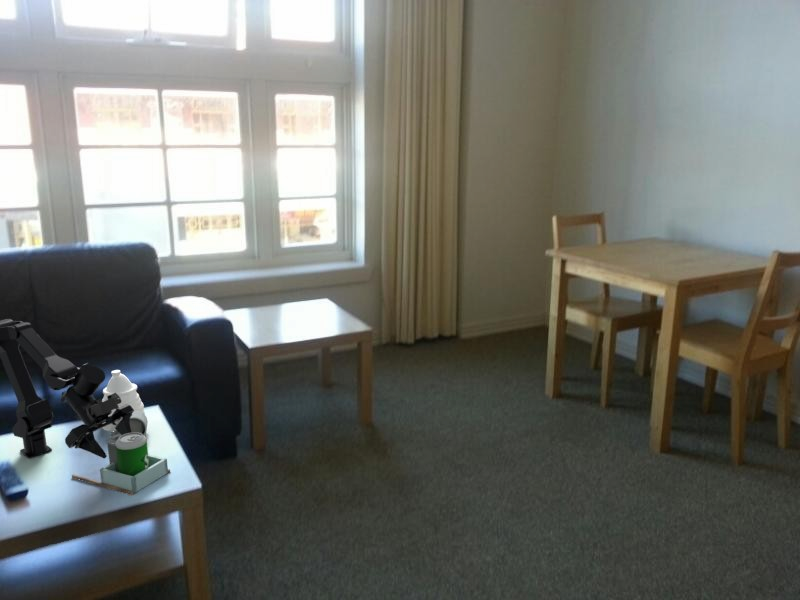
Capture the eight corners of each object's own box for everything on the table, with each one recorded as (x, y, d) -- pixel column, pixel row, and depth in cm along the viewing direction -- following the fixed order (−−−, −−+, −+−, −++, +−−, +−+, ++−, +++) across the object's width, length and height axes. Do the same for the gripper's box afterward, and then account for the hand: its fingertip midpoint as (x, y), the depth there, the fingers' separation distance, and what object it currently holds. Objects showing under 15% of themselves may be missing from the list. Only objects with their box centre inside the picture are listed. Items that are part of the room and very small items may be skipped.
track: (72, 477, 176) (71, 475, 176) (111, 456, 188) (111, 454, 187) (132, 495, 167) (132, 492, 167) (170, 472, 179) (170, 469, 179)
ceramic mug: (149, 429, 205) (146, 406, 203) (147, 440, 198) (144, 416, 196) (112, 434, 202) (108, 411, 200) (109, 446, 195) (106, 421, 193)
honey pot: (140, 430, 205) (134, 375, 200) (96, 433, 203) (89, 377, 198) (148, 413, 217) (143, 361, 213) (107, 416, 215) (101, 363, 211)
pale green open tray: (98, 482, 173) (93, 448, 171) (132, 463, 183) (129, 430, 181) (134, 492, 168) (130, 457, 166) (168, 472, 178) (164, 439, 176)
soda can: (144, 486, 172) (139, 443, 169) (115, 486, 172) (109, 443, 169) (154, 472, 179) (150, 430, 176) (127, 471, 179) (122, 430, 176)
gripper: (66, 400, 166) (104, 448, 164) (125, 376, 182) (160, 420, 180) (49, 424, 171) (85, 471, 169) (107, 398, 187) (141, 441, 185)
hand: (119, 449), depth 176 cm, fingers open, 9 cm apart
